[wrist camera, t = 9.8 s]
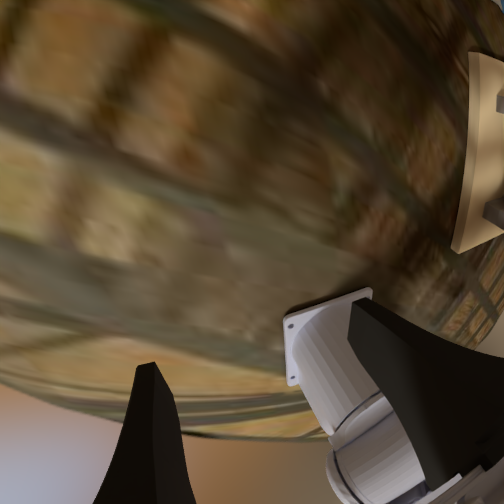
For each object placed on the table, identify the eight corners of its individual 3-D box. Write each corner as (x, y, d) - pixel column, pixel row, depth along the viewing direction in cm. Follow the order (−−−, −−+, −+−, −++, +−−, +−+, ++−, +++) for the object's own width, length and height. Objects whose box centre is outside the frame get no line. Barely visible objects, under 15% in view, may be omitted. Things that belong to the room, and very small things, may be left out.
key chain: (528, 51, 18) (533, 52, 18) (505, 68, 19) (511, 70, 18) (488, -57, 10) (494, -58, 10) (456, -58, 11) (463, -59, 10)
